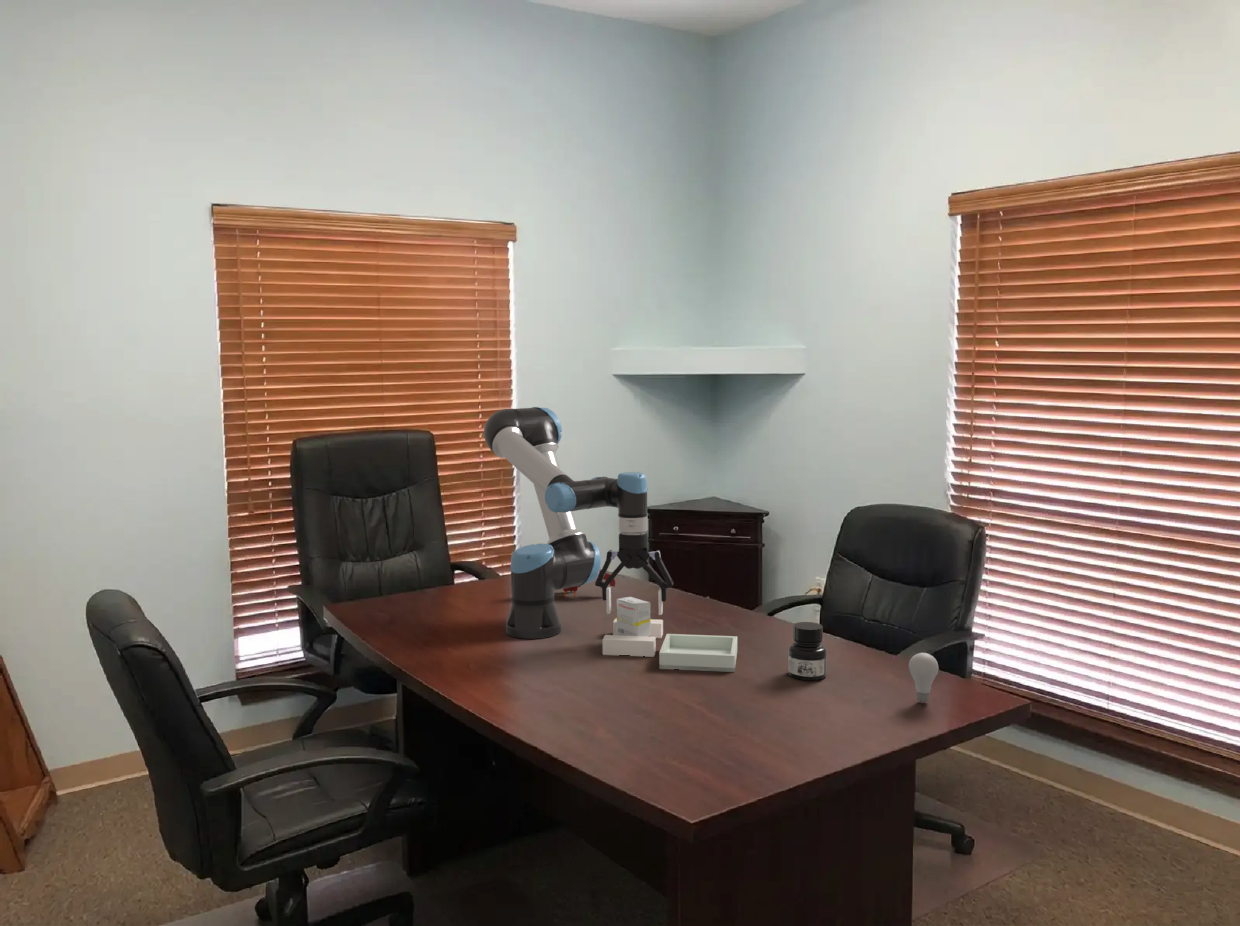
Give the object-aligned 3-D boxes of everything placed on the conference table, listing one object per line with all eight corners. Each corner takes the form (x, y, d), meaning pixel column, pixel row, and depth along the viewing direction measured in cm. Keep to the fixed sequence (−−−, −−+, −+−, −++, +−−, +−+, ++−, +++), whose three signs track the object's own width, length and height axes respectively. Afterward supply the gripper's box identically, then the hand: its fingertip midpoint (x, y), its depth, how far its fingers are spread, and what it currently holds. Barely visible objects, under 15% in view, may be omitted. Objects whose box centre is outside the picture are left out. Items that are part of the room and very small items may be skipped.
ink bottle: (782, 678, 225) (783, 628, 224) (790, 667, 233) (791, 618, 232) (824, 683, 222) (825, 632, 220) (831, 672, 230) (832, 622, 228)
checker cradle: (602, 654, 244) (602, 639, 244) (615, 632, 264) (615, 618, 264) (653, 656, 242) (653, 641, 242) (663, 634, 262) (662, 619, 261)
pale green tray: (659, 668, 233) (659, 652, 233) (666, 648, 249) (666, 633, 248) (734, 672, 230) (734, 655, 230) (737, 651, 246) (737, 636, 245)
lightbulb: (933, 709, 205) (934, 659, 204) (904, 704, 208) (905, 654, 207) (940, 701, 210) (942, 651, 209) (912, 696, 213) (913, 647, 212)
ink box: (651, 646, 251) (651, 601, 250) (637, 649, 248) (637, 604, 247) (630, 638, 258) (630, 595, 257) (616, 642, 255) (615, 598, 254)
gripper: (582, 534, 248) (584, 615, 250) (679, 535, 244) (681, 617, 246) (588, 529, 255) (590, 608, 258) (682, 530, 251) (683, 610, 254)
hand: (634, 613), depth 252 cm, fingers open, 13 cm apart
